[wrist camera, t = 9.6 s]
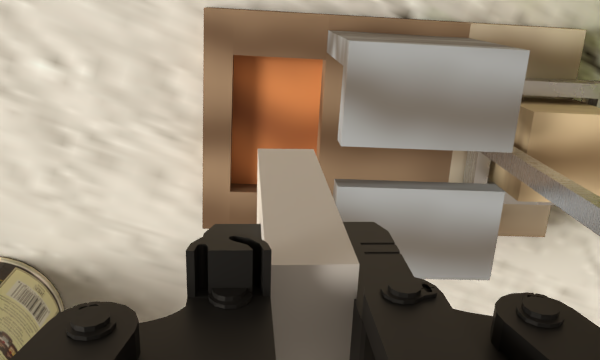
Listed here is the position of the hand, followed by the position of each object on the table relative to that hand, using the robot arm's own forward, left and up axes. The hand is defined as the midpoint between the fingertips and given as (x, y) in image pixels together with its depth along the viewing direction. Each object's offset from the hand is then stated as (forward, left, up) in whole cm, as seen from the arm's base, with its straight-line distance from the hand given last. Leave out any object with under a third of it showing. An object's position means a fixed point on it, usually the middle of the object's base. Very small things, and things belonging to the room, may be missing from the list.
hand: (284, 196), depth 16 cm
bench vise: (+4, +9, -28) cm, 30 cm away
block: (+4, +20, -26) cm, 33 cm away
